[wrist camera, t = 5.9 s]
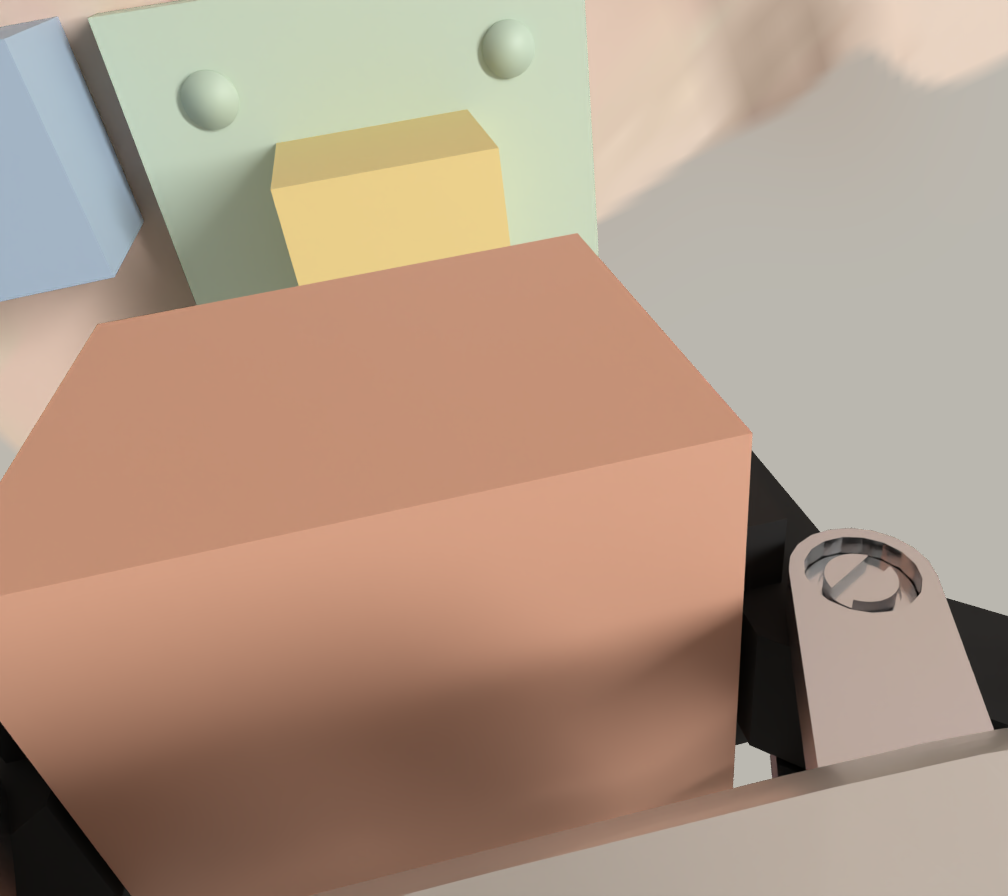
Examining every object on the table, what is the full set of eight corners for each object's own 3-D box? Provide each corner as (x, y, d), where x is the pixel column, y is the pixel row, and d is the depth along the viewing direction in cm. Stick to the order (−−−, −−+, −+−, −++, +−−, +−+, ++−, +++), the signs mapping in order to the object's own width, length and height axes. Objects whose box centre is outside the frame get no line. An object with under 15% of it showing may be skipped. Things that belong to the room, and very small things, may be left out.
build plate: (96, 13, 22) (86, 18, 21) (570, -62, 24) (583, -61, 23) (248, 419, 31) (246, 438, 30) (595, 346, 32) (605, 361, 31)
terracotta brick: (97, 324, 10) (-82, 613, 5) (577, 232, 10) (752, 433, 6) (248, 660, 13) (210, 1000, 9) (604, 578, 13) (728, 863, 9)
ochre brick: (276, 143, 24) (270, 189, 20) (467, 109, 25) (498, 147, 21) (325, 319, 28) (328, 388, 24) (492, 285, 28) (522, 348, 24)
